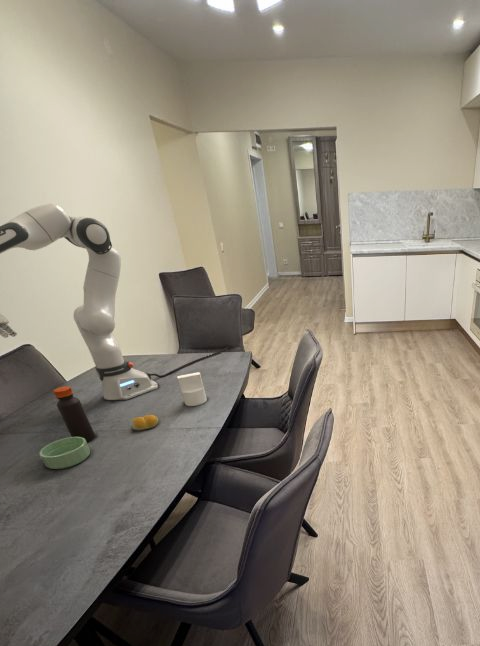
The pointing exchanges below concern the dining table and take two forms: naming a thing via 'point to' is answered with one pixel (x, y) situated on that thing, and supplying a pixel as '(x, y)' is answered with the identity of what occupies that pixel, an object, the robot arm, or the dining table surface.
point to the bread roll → (145, 422)
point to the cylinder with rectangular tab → (192, 389)
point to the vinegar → (73, 414)
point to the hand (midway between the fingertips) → (11, 336)
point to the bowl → (65, 452)
